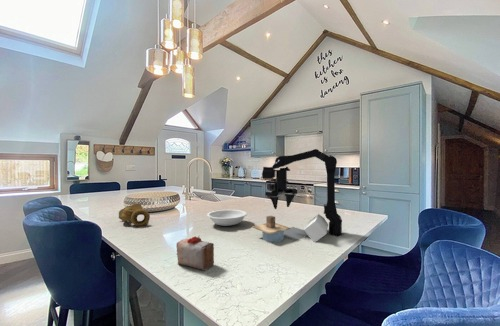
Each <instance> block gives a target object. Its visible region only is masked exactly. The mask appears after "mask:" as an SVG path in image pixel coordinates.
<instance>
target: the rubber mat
mask: <svg viewBox="0 0 500 326" xmlns="http://www.w3.org/2000/svg"><path fill="white" fill-rule="evenodd" d="M308 237H309V236H308V235H307V233H306V232H305V231H304V229H301V228H298V227H295V226H290V229H288V230H284V238H286V239H288V240H292V241H297V240H300V239H304V238H308Z"/></svg>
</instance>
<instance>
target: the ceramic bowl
mask: <svg viewBox="0 0 500 326" xmlns="http://www.w3.org/2000/svg"><path fill="white" fill-rule="evenodd" d="M261 232H262V231H261ZM261 237H262V240H263V241H265V242H269V243H280V242H282V241H284V238H285V237H284V231H280V232H276V233H272V234H268V233H265V232H262V236H261Z"/></svg>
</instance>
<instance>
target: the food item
mask: <svg viewBox="0 0 500 326" xmlns="http://www.w3.org/2000/svg"><path fill="white" fill-rule="evenodd" d="M176 257H177V264H178V265H182V266H187V267H190V268H195V269H198V270H202V271H207V270H209V269H210V268H211V267H212V266H214V263H215V247H214V243H213V242H208V241H203V240H202V238H201V237H200V235H198V236H193V237H191V238H183V239H180V240H178V242H176Z"/></svg>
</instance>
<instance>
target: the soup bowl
mask: <svg viewBox="0 0 500 326" xmlns="http://www.w3.org/2000/svg"><path fill="white" fill-rule="evenodd" d="M247 215H248V212H247V211H245V210H240V209H220V210H219V209H218V210H214V211H210V212H208V213H206V216H207V218H209V219H210V220H211V221H212V223H213V224H215V225H219V226H223V227H227V226H228V227H229V226H230V227H231V226H235V225H238V224H240V223H241V222H242V221H243V220H244V218H245V217H247Z"/></svg>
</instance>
